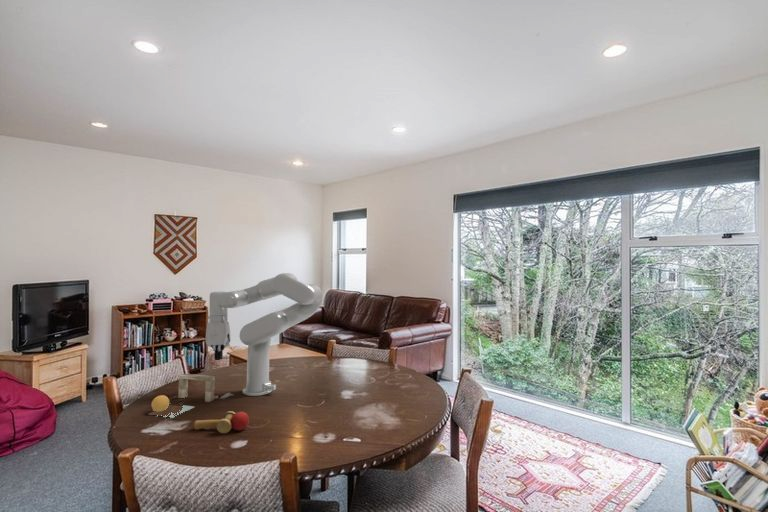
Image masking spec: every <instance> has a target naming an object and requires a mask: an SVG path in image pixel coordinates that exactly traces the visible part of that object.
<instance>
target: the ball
mask: <svg viewBox="0 0 768 512" xmlns="http://www.w3.org/2000/svg"><path fill="white" fill-rule="evenodd" d="M150 404H151V409H152V411H156V412H162V411H164V410H166V409H167V408H168V406H169V404H170V399H169V398H168V396H166V395H164V394H163V395H162V394H160V395H157V396H156V397H154V398H153V399H152V400H151V403H150Z"/></svg>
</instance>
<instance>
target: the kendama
mask: <svg viewBox="0 0 768 512" xmlns="http://www.w3.org/2000/svg"><path fill="white" fill-rule="evenodd" d="M249 423H250V417H249V415H248V413H246V412H245V411H238V412H234V411H233V410H232V411H231V410H230V411H229V410H228V411H227V412H225V414H224V415H223V418H221V419H202V420H201V419H200V420H199V419H198V420H195V421H194V424H193V428H194V430H201V429H208V428H213V427H214V428H215V427H216V430H217V431H218V432H219V433H221V434H227V433H229V432H231V430H232V429H234V430H235V431H242V430H245V429H246V428H247V427H248V426H249Z"/></svg>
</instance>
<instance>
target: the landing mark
mask: <svg viewBox="0 0 768 512" xmlns="http://www.w3.org/2000/svg"><path fill="white" fill-rule="evenodd" d="M182 405H183V404H182ZM182 407H183V408H182V410H181V411H180V410H179V411H180V412H179V413H180V415H181V413H182V414H183V412H184V413H186V412H187V411H190V410H191V409H194V408H195V406H193V405H186V404H185V405H183V406H182ZM185 411H186V412H185ZM179 413H178V412H177V415H178V416H179ZM169 414H170V413H169ZM169 414H168V415H169ZM173 414H174V413H172V412H171V415H170V416H169V417H170V418H169V419H173V418H176V417H178V416H177V415H175V414H176V413H175V414H174V415H175V416H176V417H175V416H174V415H173ZM168 415H167V416H168ZM161 416H162V415H161ZM167 416H166V415H165V416H163V417H162V418H166V417H167ZM156 417H158V415H157V416H156Z"/></svg>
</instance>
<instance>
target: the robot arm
mask: <svg viewBox="0 0 768 512" xmlns="http://www.w3.org/2000/svg"><path fill="white" fill-rule="evenodd" d="M281 295H282V296H284V297H286V298H288V299H290V300H291V301H294V302H296V303H294V304H291V305H289V306H288V307H285V308H283V309H281V310H277V311H274V312H270V313H267V314H266V315H263V316H261V317H259V318H257V319H255V320H252V321H251V322H249V323H246V324H245V325H243V326H242V327H241V329H240V331H239V339H240V342H241V343H242V344H244V345H245V346H248V347H247V352H246V353H247V354H246V355H247V358H246V360H247V361H246V387H244V388H243V389H242V394H243V395H245V396H249V397H252V396H253V397H258V396H264V395H267V394H270V393H271V392H272V391H275V390H277V384H273V383H272V381H271V380H270V355H271V354H270V353H271V352H270V351H271V341H272V338H273V337H275V336H277V335H279V334H282V333H283V332H285V331H286V330H288V329H289V328H292V327H293V326H296V325H298V324H299V323H301V322H304V321H306V320H308V319H309V318H310V317H312V316H313V315H314V314H316V313H317V311H319V308H320V307H321V305H322V301H323V291H322V289H321V287H319V286H318V285H316V284H311V283H310V284H306V283H304V282H302V281H300V280H298V278H297V277H296V275H294V274H293V273H289V272H286V273H284V272H283V273H278V274H276V276H274V277H271V278H267V279H264V280H261V281H259V282H258V283H257V284H255V285H252V286H249V287H246V288H243V289H239V290H234V291H232V290H231V291H213V292H210V293H209V316H207V319H208V320H209V322H207V326H206V331H205V344H206V345H207V347H210V348H212V351H213V352H214V361H220V360H222V359H223V351H224V349H226V348H229V347H230V346H231V345H230V343H231V328H230V323H229V321H228V309H235V308H240V307H244V306H247V305H250V304H251V305H252V304H253V303H257V302H260V301H265V300H268V299H272V298H274V297H277V296H281Z"/></svg>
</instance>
